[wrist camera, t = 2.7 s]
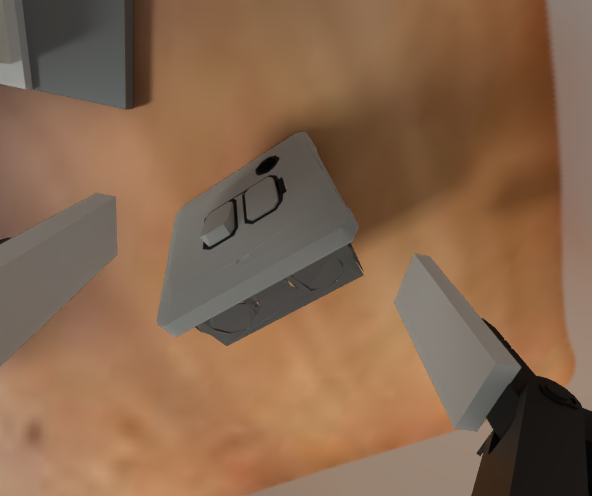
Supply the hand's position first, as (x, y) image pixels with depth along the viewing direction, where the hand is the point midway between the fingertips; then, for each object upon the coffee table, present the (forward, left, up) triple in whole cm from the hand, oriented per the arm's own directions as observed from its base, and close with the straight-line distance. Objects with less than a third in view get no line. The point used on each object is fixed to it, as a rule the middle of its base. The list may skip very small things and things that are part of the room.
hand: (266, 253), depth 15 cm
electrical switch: (0, 0, -7) cm, 7 cm away
